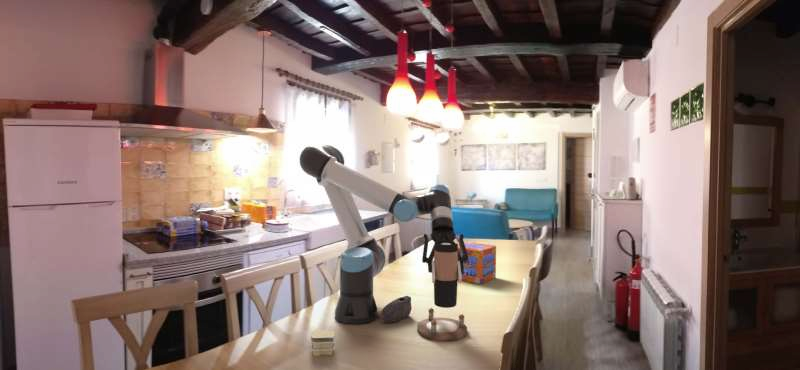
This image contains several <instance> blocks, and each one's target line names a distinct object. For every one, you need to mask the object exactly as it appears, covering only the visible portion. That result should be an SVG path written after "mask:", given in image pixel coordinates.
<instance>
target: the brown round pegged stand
mask: <svg viewBox="0 0 800 370" xmlns="http://www.w3.org/2000/svg"><path fill="white" fill-rule="evenodd" d="M434 311H435V309H434V308H432V307H431V308H429V309H428V311H427V312H428V318H425V319H423V320H421V321H419V322H418V323H417V326H416V327H417V328H416V331H417V332H416V333H418V335H419V336H420V337H422V338H425V339H426V340H429V341H434V342H442V343H443V342H444V343H445V342H455V341H458V340H462V339H464V338H465V337H466V336H467V335H468V328H467V325H466V324H465V315H464V314H463V313H461V314H459V315H458V320H457V319H453V318H449V317H434V313H435V312H434Z"/></svg>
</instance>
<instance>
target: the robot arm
mask: <svg viewBox="0 0 800 370" xmlns="http://www.w3.org/2000/svg"><path fill="white" fill-rule="evenodd" d="M299 165H300V168H301V169H302V171H303V172H304V173H305V174H306V175H309V176H311V177H313V178H315V179H316V181H317V184H318V185H319V186H322V187H323V188H324V190H325V192H326V195H327V196H328V197H327V198H328V199H329V202H330V205H331V206H332V209H333V212H334V214H335V216H336V218H337V221H338V224H339V226H340V228H341V230H342V233H343V235H344V238H345V239H346V242H347V246H346V249H344V251H342V252H341V254H340V257H339V258H340V260H339V296H338V297H339V298H338V301H337V302H336V303H337V304H336V306H335V308H334V309H335V310H334V319H335V320H336V321H337V322H339V323H342V324H347V325H362V324H368V323H372V322H374V321H376V319H378V317H379V309H378V305H377V303H376V300H375V295H374V278H375V277H376V276H377V275H379V273H381V272H382V270H383V269H384V267H385V264H386V259H387V257H386V252H385V251H384V249H383V248H382V247H381V245H380V246H379V245H378V243H377V241H376V238H375V237H374V236H372V235H370V234H369V232H368V230H367V228H366V226H365V222H364V220H363V218H362V216H361V214H360V211H359V209H358V206H357V205H356V202H355V200H354V197H353V195H354V196H356V197H358V198H360V199H363V200H365V202H368V203H370V204H372V205H374V206H376V207H378V208H380V209H381V210H383V211H385V212H387V213H389V214H391V215H392V216H394V217H395V219H397V220H398V221H399V222H402V223H408V222H411V221H413V220H415V219H416V218H417V217H419V216H425V215H429V214H430V223H431V234H426V233H424V234H423V236H422V237H423V238H422V239H423V243H424V244H423V250H422V258H421V259H422V260H421V262H422V263H426V264H427V270H428V273H430V274H431V281H432V284H434V283H435V266H434V245H433V247H432V248H431V252H430V253H429V256H428V247H429V246H428V245H429V242H430V241H431V240H432V241H433V242H434V243H435V242H436V241H454V242H455V240H456V242H457V243H458V245H459V247H460V250H461V254H462V256H461V255H460V253H459V251H458V282H457V284H461V283H462V277H461V273H463V271H464V266H463V263H467V262H468V255H467V251H466V248H465V245H464V243H465V242H464V234H463V233H462V234H460V235H459V234H456V233H455V230H454V229H455V228H454V220H453V211H452V200H451V199H452V198H451V194H450V189H449V187H448V186H447V185H443V184H435V185H434V186H431V187H430V189H429V191H428V192H427V193H424V194H418V195H413V196H406V195H404V194H401V193H399V192H398V191H395V189H394V190H393V189H391V188H390V187H388V186H386V185H384V184H382V183H380V182H377V180H374V179H373V178H370V177H368V176H366V175H365V174H363V173H360V172H358V171H356V170H355V169H352V168H351V167H348V166H346V165H345V157H344V155H343V153H342V151H340V150H339V149H338V148H336V147H334V146H333V145H328V144H326V145H325V144H324V145H323V144H318V143H317V144H316V143H314V144H310V145H308V146H306V147H305V148H303V149H302V151H301V153H300V155H299ZM427 256H428V257H427ZM462 257H463V258H462Z"/></svg>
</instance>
